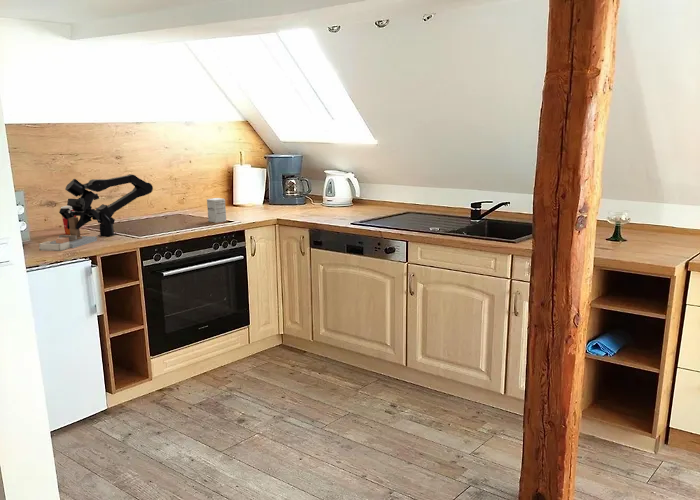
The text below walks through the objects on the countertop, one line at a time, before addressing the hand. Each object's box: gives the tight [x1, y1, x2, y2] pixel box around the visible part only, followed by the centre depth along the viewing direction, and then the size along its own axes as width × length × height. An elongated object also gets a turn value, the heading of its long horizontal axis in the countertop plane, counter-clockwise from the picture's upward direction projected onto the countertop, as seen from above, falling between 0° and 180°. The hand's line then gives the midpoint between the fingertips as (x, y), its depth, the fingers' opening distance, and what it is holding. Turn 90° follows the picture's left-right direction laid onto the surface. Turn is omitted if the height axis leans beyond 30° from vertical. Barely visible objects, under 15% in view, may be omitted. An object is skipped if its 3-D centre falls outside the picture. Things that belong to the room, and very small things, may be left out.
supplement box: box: [206, 197, 227, 224], centre depth 341 cm, size 7×7×13 cm
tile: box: [55, 237, 69, 243], centre depth 284 cm, size 4×4×2 cm
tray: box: [38, 240, 71, 252], centre depth 279 cm, size 6×11×3 cm, turn 75°
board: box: [50, 235, 98, 249], centre depth 291 cm, size 17×14×2 cm
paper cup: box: [60, 205, 77, 235], centre depth 315 cm, size 8×8×14 cm
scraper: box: [58, 216, 83, 241], centre depth 290 cm, size 7×9×10 cm
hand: (72, 228), depth 290 cm, fingers open, 5 cm apart
